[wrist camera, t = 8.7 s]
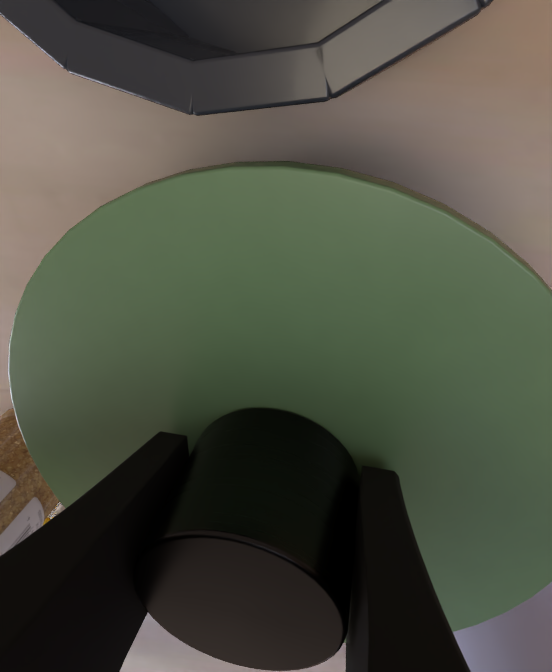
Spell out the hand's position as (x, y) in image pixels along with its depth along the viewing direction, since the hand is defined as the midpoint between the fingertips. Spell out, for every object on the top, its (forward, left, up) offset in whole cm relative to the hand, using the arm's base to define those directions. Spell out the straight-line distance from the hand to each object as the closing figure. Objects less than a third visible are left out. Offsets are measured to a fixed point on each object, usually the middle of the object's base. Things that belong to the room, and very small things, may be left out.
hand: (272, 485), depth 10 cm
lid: (0, 0, -1) cm, 1 cm away
